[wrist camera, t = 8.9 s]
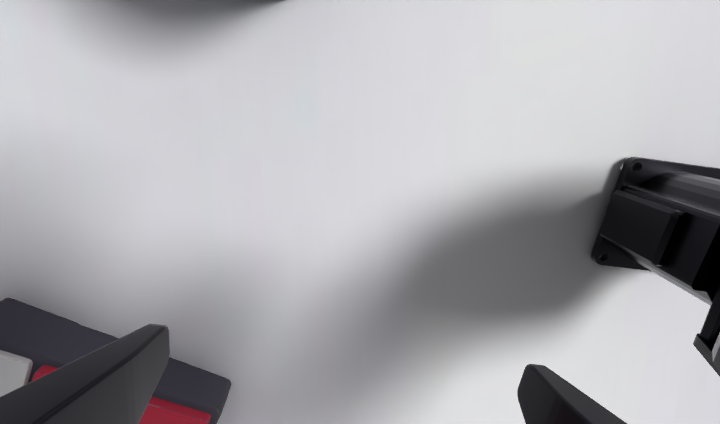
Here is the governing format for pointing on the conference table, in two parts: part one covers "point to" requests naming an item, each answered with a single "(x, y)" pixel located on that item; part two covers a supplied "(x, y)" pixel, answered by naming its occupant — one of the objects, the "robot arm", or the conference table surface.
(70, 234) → the conference table surface
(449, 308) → the conference table surface
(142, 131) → the conference table surface
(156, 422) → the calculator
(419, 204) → the conference table surface
